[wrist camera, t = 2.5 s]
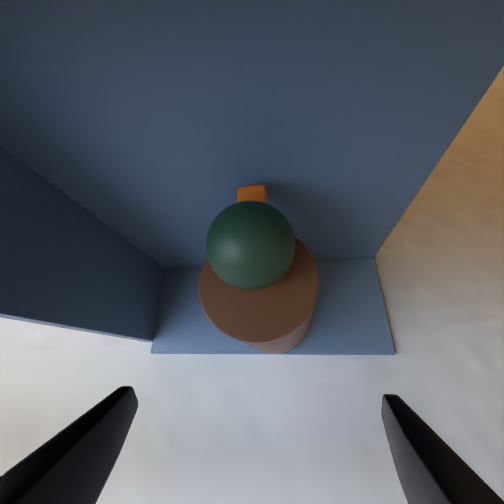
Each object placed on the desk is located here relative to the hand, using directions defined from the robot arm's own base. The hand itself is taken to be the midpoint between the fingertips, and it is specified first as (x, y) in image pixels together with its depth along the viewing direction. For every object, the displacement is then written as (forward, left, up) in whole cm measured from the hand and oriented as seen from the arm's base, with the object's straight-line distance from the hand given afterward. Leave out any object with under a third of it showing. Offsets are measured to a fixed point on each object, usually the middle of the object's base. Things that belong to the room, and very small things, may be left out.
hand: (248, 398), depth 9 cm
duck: (+3, -4, -11) cm, 12 cm away
